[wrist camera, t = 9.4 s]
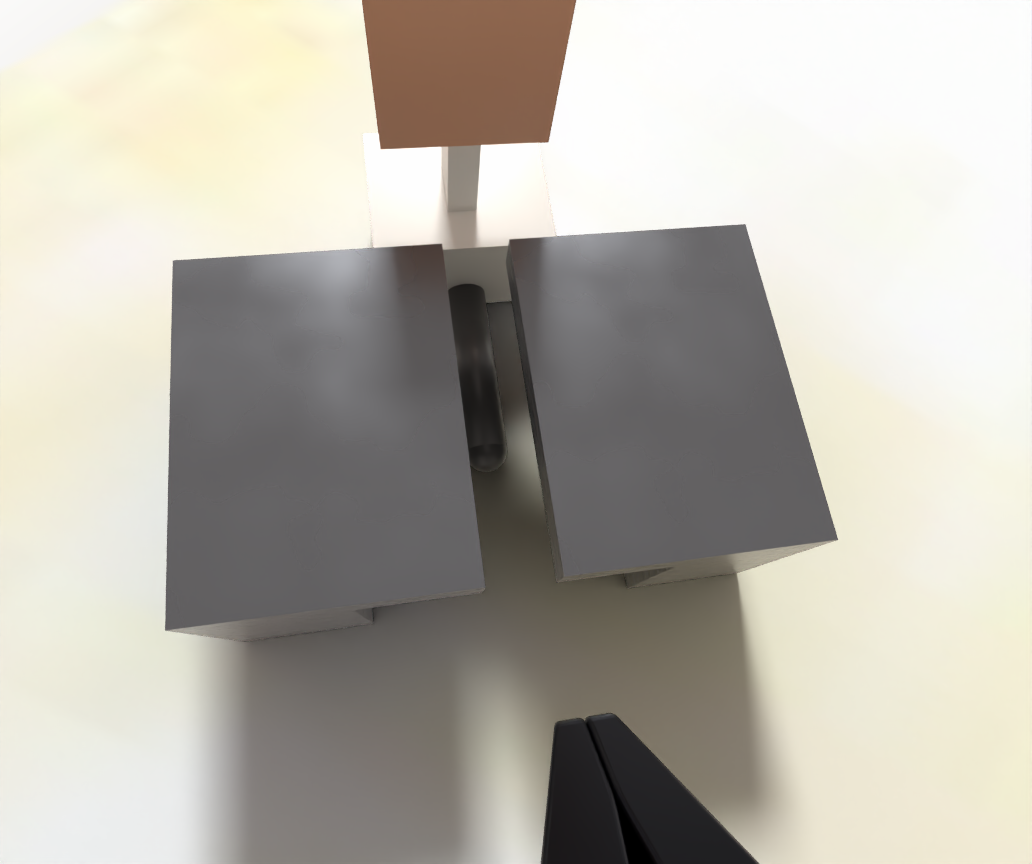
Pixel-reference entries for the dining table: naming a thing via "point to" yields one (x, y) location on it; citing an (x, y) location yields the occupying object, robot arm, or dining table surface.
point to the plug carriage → (465, 158)
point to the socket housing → (442, 435)
